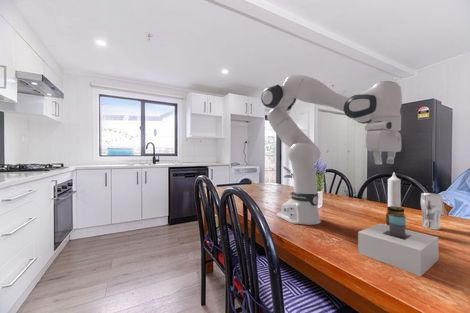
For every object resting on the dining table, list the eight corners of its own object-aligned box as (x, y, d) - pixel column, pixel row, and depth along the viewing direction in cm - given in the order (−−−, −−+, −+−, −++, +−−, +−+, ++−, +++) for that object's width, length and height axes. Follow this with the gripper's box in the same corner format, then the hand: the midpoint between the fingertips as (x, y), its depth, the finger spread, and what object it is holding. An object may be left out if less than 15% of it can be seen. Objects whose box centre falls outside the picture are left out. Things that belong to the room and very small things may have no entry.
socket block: (358, 252, 68) (358, 232, 68) (379, 241, 77) (379, 223, 77) (420, 276, 55) (420, 250, 55) (438, 259, 63) (438, 237, 63)
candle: (408, 231, 87) (408, 172, 87) (389, 230, 89) (389, 172, 88) (398, 225, 94) (398, 171, 94) (381, 224, 95) (381, 171, 95)
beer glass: (420, 227, 91) (420, 194, 91) (420, 223, 96) (420, 192, 96) (442, 231, 86) (442, 196, 86) (441, 227, 92) (441, 194, 92)
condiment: (410, 242, 76) (409, 210, 76) (382, 239, 79) (382, 208, 79) (402, 235, 83) (402, 206, 83) (377, 232, 86) (377, 204, 86)
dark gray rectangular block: (386, 252, 66) (386, 215, 66) (392, 248, 69) (392, 213, 69) (402, 257, 63) (402, 218, 63) (407, 253, 65) (407, 216, 65)
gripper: (388, 129, 83) (386, 163, 83) (362, 125, 72) (361, 164, 72) (407, 127, 78) (406, 164, 78) (383, 123, 67) (381, 165, 67)
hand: (384, 164), depth 75 cm, fingers open, 8 cm apart
